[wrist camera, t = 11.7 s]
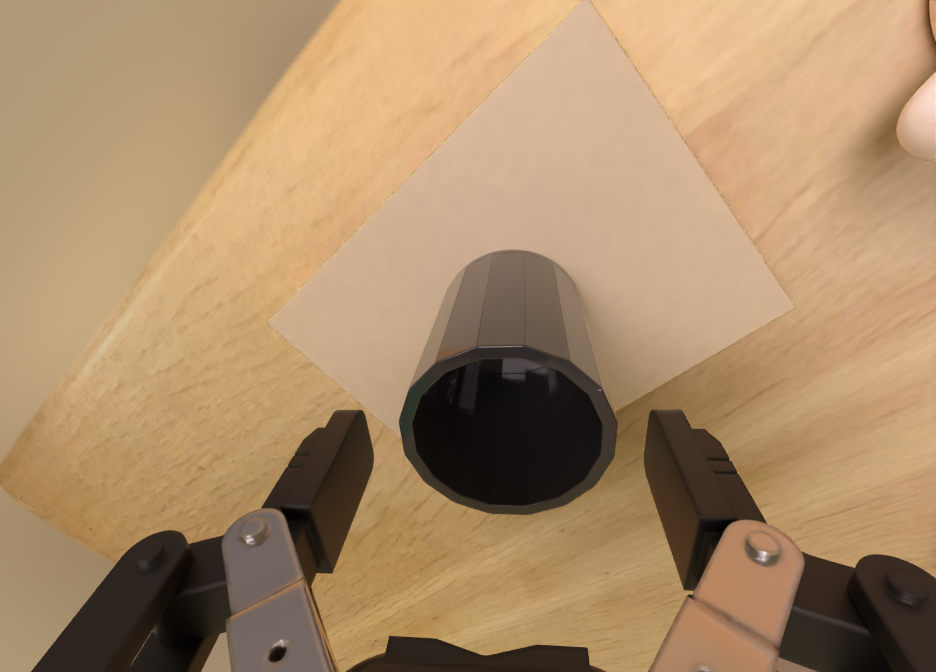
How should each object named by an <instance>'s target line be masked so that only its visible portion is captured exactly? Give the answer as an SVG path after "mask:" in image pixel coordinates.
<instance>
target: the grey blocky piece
mask: <svg viewBox="0 0 936 672" xmlns="http://www.w3.org/2000/svg"><path fill="white" fill-rule="evenodd" d="M776 668H777V671H778V672H817V671H814V670H811V669H809V668H806V667H803V666H800V665H798V664H795V663H792V662H790V661H787V660H784V659H781V658H779V657H778V661H777V664H776Z"/></svg>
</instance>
